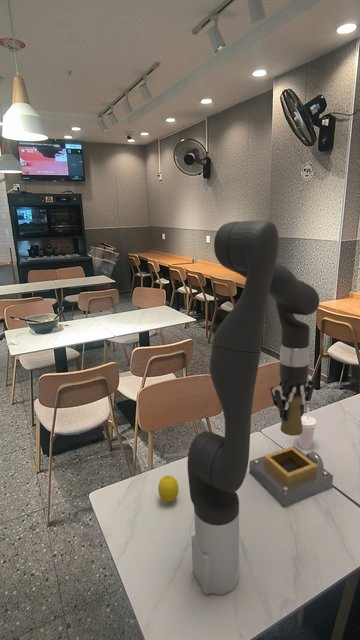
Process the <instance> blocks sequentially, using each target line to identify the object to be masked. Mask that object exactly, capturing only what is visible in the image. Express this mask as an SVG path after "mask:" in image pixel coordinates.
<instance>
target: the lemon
mask: <svg viewBox="0 0 360 640" xmlns="http://www.w3.org/2000/svg"><path fill="white" fill-rule="evenodd" d="M178 483H179V482H178V480H177V479H176V478H175V477H174V476H172V475H168V474H167V475H164V476H163V477H162V478H161V479H160V481H159V483H158V487H157V490H158V495H159V497H160V499H161V500H162V501H164V502H166V503H171V502H173V501H174V500H176V498H177V497H178V495H179V484H178Z"/></svg>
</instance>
